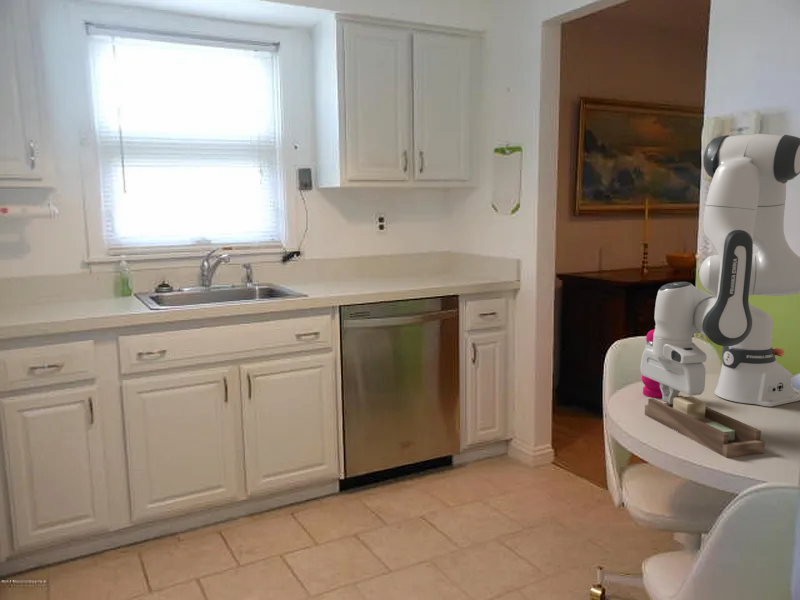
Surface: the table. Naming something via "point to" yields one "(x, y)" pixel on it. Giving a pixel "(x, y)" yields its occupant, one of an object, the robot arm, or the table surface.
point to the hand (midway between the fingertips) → (668, 402)
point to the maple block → (690, 406)
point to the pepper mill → (651, 385)
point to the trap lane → (709, 429)
